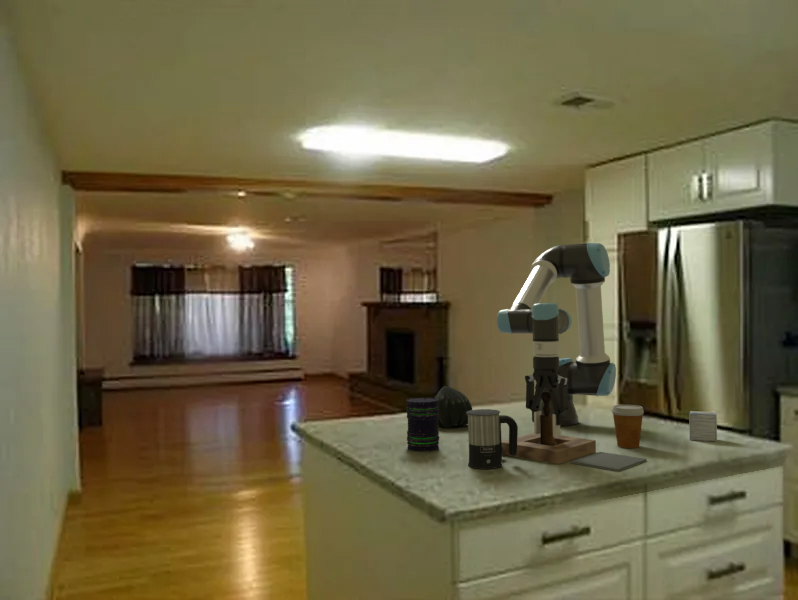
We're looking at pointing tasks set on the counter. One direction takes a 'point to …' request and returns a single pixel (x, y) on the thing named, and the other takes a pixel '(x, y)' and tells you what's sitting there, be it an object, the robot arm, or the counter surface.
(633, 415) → the disposable coffee cup
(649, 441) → the counter surface
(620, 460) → the mat
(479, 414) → the milk frother
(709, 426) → the medicine box
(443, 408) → the squash
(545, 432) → the wooden pepper mill
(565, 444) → the collar block
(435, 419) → the storage jar
